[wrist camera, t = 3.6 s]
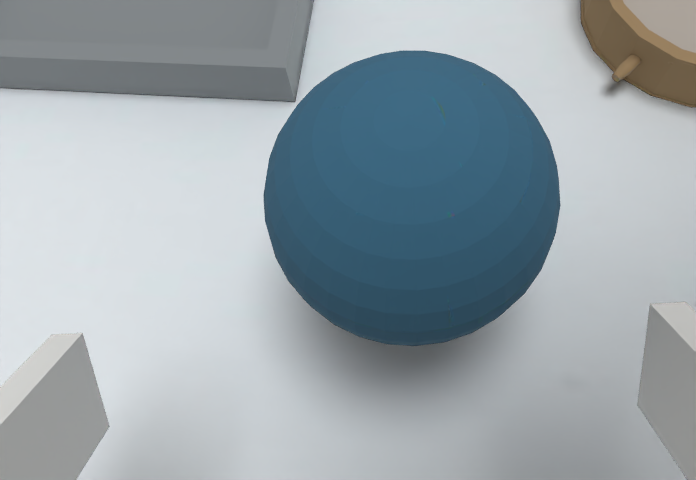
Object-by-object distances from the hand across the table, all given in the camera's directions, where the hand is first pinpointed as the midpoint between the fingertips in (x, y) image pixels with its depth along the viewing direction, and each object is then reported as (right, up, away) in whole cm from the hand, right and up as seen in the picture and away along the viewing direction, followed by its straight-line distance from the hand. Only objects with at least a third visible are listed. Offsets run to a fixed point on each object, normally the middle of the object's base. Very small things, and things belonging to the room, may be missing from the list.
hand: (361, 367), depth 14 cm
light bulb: (+2, +1, +11) cm, 11 cm away
